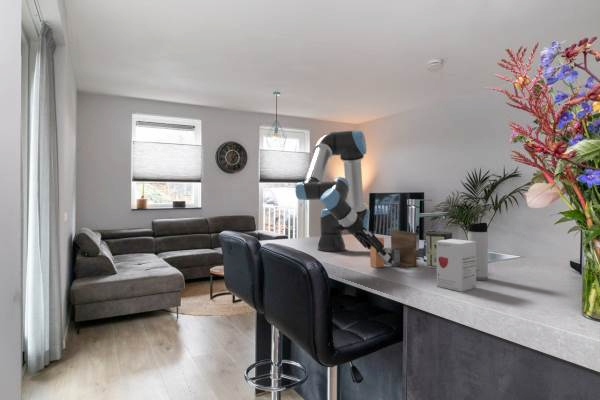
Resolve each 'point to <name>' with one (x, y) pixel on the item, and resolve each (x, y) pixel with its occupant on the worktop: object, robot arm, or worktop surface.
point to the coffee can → (434, 246)
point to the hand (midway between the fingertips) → (384, 258)
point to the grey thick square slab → (393, 257)
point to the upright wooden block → (378, 256)
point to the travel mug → (480, 248)
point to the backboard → (405, 247)
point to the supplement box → (456, 264)
